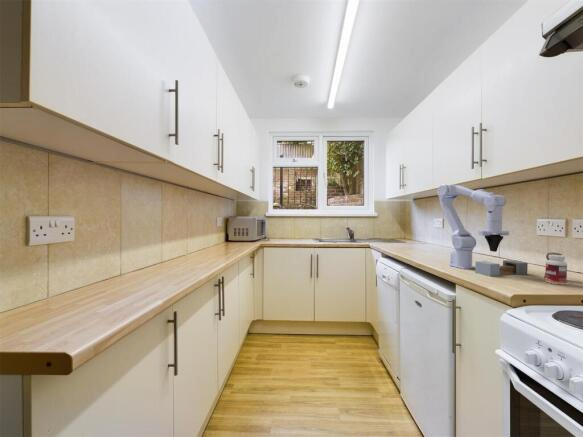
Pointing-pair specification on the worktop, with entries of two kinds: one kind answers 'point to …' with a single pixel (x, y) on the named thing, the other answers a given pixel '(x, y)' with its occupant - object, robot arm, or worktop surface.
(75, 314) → the worktop surface
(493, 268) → the blue-grey block
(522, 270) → the end cap fixed
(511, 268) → the slat
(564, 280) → the pill bottle
